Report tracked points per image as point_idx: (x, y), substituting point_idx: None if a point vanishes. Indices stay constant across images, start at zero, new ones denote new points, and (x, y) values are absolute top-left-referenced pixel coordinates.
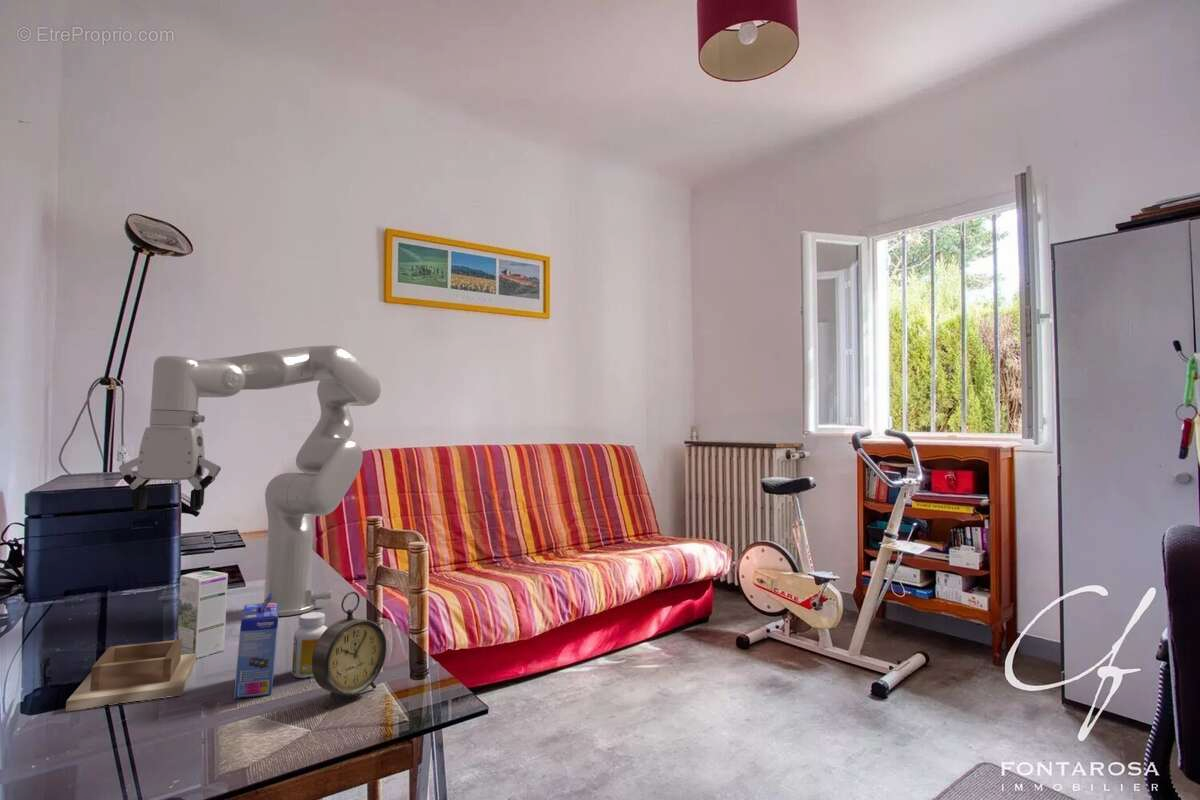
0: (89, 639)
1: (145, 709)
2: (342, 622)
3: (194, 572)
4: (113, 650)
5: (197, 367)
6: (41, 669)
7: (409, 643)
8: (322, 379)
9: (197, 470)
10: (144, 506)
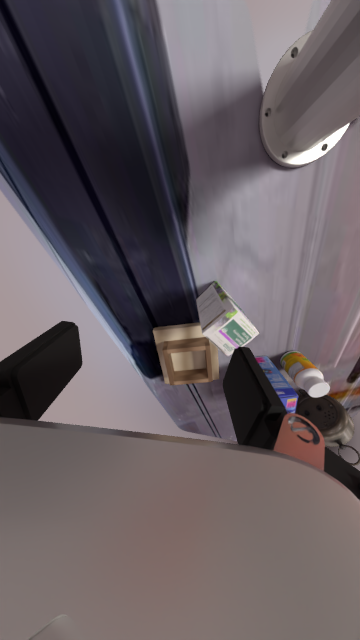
0: (95, 225)
1: (204, 385)
2: (331, 442)
3: (216, 323)
4: (168, 358)
5: None
6: (109, 309)
7: None
8: None
9: (343, 559)
10: (74, 339)
